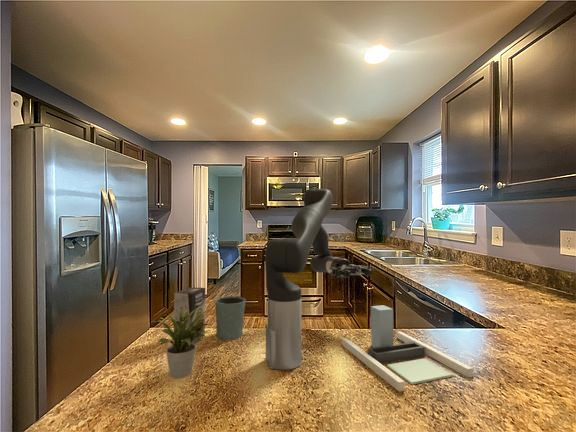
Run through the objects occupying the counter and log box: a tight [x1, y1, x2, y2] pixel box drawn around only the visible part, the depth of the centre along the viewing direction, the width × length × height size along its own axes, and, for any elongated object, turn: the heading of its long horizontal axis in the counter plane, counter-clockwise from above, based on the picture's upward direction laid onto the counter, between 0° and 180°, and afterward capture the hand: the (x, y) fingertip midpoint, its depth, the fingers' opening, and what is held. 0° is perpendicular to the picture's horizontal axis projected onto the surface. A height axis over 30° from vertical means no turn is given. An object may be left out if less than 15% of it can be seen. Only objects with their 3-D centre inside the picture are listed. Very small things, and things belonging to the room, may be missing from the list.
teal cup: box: [214, 295, 246, 341], centre depth 97 cm, size 10×10×12 cm
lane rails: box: [342, 331, 474, 392], centre depth 79 cm, size 22×26×2 cm
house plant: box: [152, 306, 212, 379], centre depth 70 cm, size 14×14×16 cm
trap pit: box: [367, 342, 426, 364], centre depth 80 cm, size 16×4×2 cm, turn 107°
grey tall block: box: [370, 304, 395, 348], centre depth 87 cm, size 5×5×12 cm
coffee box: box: [172, 287, 206, 344], centre depth 93 cm, size 9×6×16 cm
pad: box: [386, 358, 453, 385], centre depth 72 cm, size 12×9×1 cm
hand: (360, 273), depth 99 cm, fingers open, 8 cm apart
